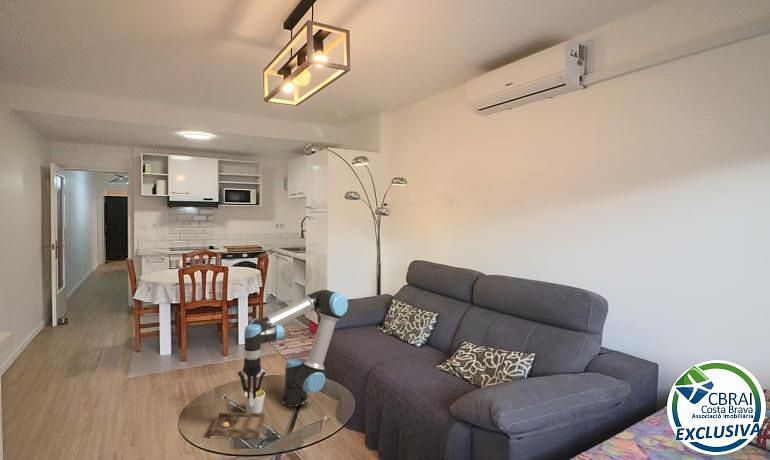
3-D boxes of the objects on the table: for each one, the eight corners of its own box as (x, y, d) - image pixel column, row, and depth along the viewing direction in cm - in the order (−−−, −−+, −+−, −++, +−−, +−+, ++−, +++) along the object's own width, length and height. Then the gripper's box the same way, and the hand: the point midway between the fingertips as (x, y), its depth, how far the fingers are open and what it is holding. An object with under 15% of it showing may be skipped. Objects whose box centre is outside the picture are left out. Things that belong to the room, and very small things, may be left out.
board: (264, 420, 212) (264, 413, 212) (258, 437, 196) (259, 429, 196) (219, 420, 209) (219, 413, 209) (209, 438, 194) (210, 429, 193)
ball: (231, 423, 204) (225, 420, 204) (229, 423, 201) (222, 421, 201) (228, 430, 203) (221, 427, 203) (226, 431, 200) (219, 428, 200)
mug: (259, 418, 214) (260, 398, 213) (240, 416, 215) (241, 396, 215) (270, 406, 227) (271, 387, 227) (252, 404, 229) (253, 385, 228)
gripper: (267, 354, 207) (266, 400, 208) (240, 354, 205) (239, 401, 206) (265, 360, 199) (264, 408, 201) (236, 360, 198) (235, 408, 199)
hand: (251, 404), depth 204 cm, fingers closed
